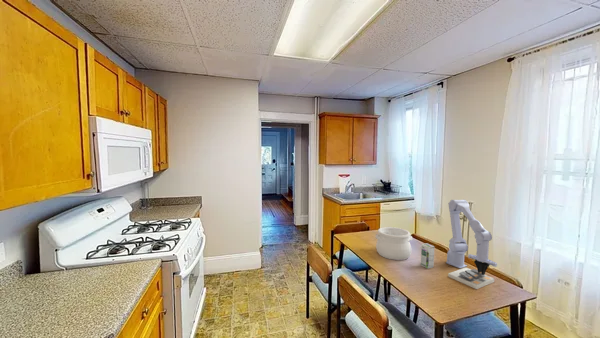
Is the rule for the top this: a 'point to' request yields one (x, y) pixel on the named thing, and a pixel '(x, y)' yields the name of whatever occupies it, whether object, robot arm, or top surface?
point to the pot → (393, 243)
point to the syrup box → (427, 255)
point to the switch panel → (475, 282)
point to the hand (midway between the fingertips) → (481, 273)
